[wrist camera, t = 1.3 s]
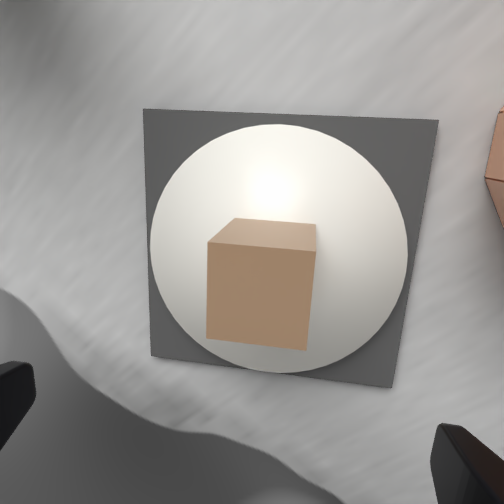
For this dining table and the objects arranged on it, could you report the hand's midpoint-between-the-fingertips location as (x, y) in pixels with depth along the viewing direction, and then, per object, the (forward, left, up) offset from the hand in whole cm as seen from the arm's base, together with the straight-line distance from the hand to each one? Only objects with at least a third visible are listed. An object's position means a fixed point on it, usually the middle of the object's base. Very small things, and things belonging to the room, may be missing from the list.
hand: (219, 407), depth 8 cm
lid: (0, 0, -12) cm, 12 cm away
